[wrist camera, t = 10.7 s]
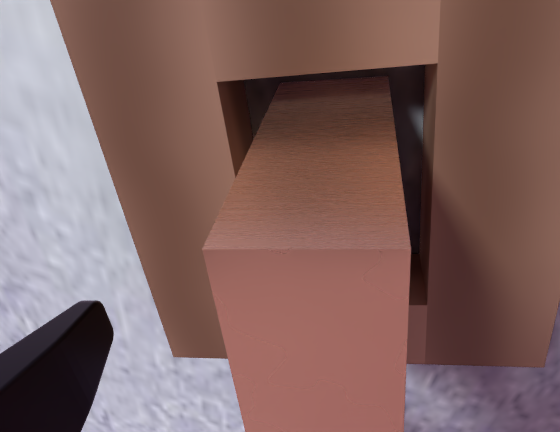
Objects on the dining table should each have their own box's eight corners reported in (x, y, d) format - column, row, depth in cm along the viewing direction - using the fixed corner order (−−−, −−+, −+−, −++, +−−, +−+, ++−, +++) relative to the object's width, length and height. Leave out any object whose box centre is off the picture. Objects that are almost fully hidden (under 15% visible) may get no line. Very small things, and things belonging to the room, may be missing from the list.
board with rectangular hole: (595, -98, 11) (651, -98, 9) (522, 310, 17) (544, 367, 15) (96, -30, 13) (44, -17, 11) (194, 307, 19) (173, 356, 17)
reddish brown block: (387, 75, 13) (411, 248, 7) (386, 227, 16) (401, 460, 9) (280, 82, 14) (201, 249, 7) (296, 228, 16) (249, 449, 10)
